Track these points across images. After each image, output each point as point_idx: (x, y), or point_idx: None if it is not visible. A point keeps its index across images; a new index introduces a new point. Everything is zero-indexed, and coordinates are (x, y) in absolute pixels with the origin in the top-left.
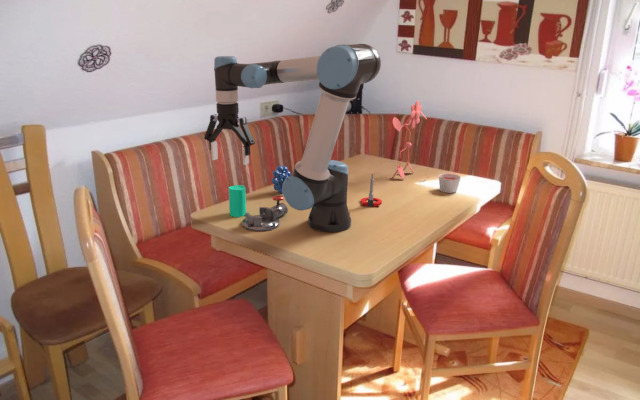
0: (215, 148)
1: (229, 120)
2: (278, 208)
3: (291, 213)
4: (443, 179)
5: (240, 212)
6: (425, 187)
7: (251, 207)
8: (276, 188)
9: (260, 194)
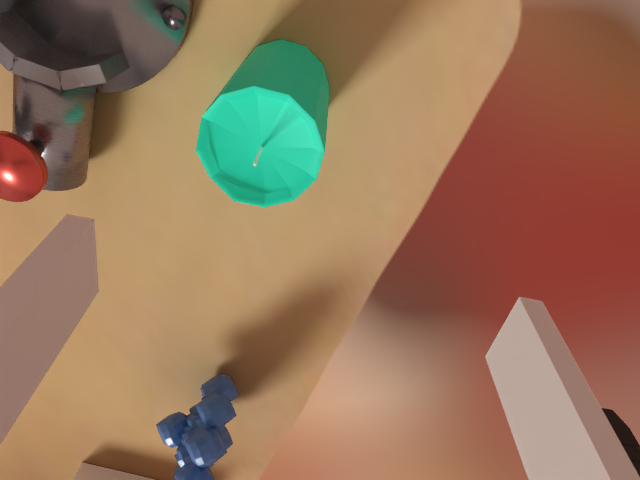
0: (544, 444)
1: None
2: (16, 115)
3: None
4: None
5: (245, 60)
6: None
7: None
8: (216, 378)
9: (297, 350)
